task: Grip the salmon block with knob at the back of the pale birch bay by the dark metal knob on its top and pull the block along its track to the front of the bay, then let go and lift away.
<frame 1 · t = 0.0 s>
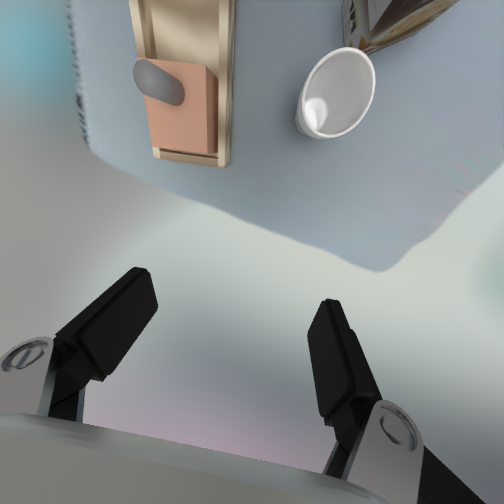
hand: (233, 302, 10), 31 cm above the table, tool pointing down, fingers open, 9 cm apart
bay: (193, 70, 28), on the table
salmon block with knob: (175, 110, 25), point 7 cm above the table, slide at 13.5 cm
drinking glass: (311, 116, 30), on the table
coffee box: (379, 19, 24), on the table
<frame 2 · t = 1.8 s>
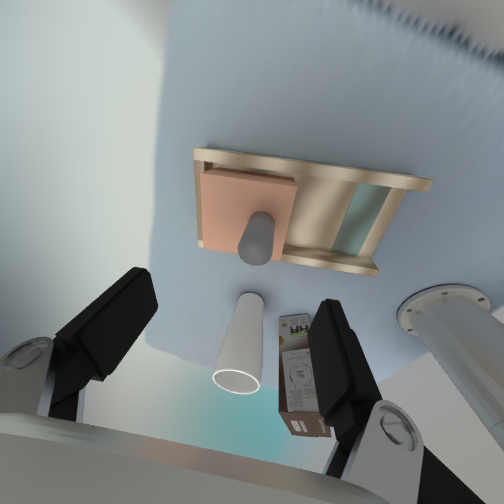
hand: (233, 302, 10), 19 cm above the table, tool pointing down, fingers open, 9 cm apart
bay: (292, 210, 26), on the table
salmon block with knob: (244, 221, 20), point 7 cm above the table, slide at 13.5 cm
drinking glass: (251, 300, 37), on the table
coffee box: (297, 327, 39), on the table
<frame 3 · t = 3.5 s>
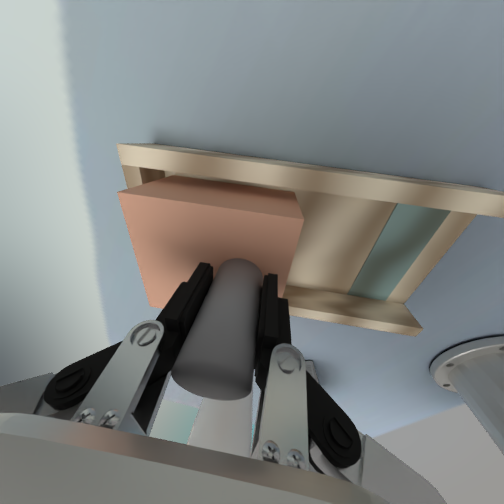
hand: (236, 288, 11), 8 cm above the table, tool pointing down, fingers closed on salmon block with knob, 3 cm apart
bay: (292, 237, 17), on the table
salmon block with knob: (210, 272, 12), point 7 cm above the table, slide at 13.5 cm, touching gripper
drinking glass: (239, 343, 28), on the table
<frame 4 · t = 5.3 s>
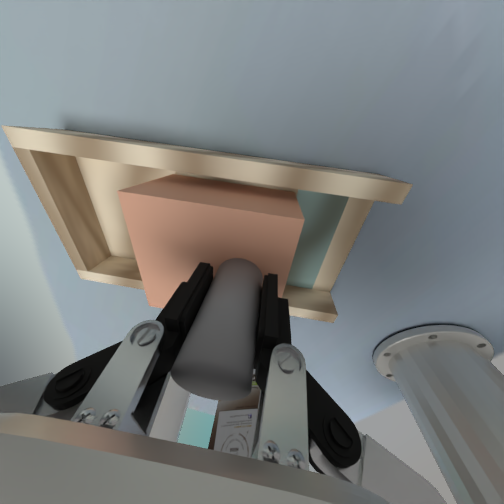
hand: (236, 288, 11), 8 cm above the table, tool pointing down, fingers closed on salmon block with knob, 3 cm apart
bay: (215, 225, 18), on the table
salmon block with knob: (209, 272, 12), point 7 cm above the table, slide at 5.8 cm, touching gripper
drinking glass: (190, 334, 29), on the table
coffee box: (253, 365, 32), on the table
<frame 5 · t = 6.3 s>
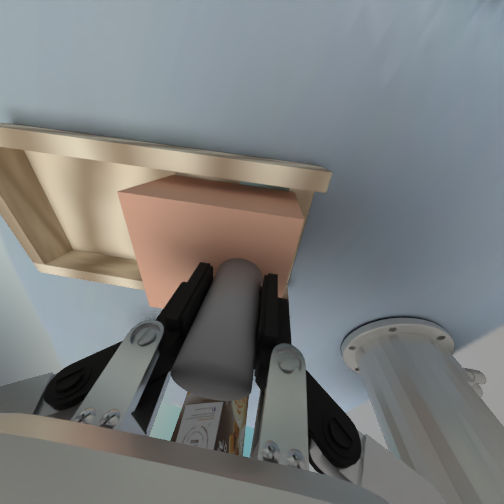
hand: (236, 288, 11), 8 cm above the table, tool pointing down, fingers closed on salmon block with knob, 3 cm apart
bay: (170, 218, 18), on the table
salmon block with knob: (209, 272, 12), point 7 cm above the table, slide at 1.1 cm, touching gripper
coffee box: (228, 360, 32), on the table
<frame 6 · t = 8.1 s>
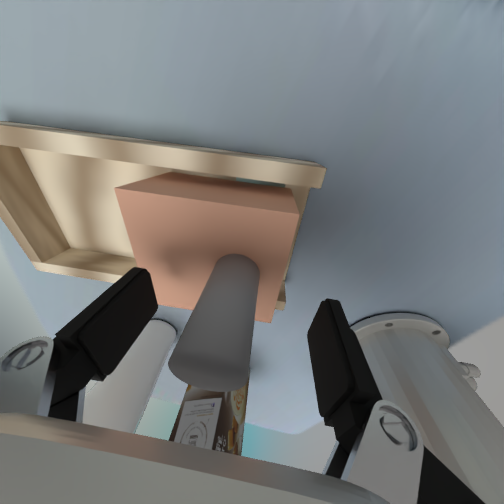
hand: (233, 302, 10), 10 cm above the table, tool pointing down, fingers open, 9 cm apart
bay: (167, 215, 18), on the table
salmon block with knob: (207, 268, 12), point 7 cm above the table, slide at 1.0 cm
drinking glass: (162, 327, 29), on the table
coffee box: (227, 357, 32), on the table
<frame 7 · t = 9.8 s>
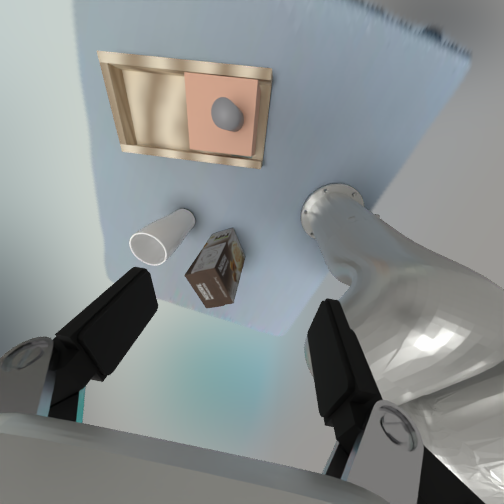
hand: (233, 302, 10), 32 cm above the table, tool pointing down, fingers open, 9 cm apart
bay: (196, 118, 32), on the table
salmon block with knob: (220, 117, 26), point 7 cm above the table, slide at 1.0 cm
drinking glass: (185, 218, 43), on the table
coffee box: (229, 245, 46), on the table
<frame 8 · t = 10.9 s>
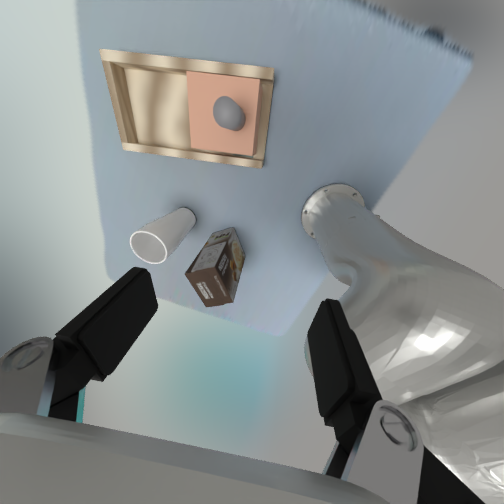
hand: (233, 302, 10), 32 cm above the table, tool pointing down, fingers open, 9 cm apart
bay: (197, 117, 32), on the table
salmon block with knob: (222, 116, 26), point 7 cm above the table, slide at 1.0 cm
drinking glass: (186, 217, 43), on the table
coffee box: (229, 245, 46), on the table
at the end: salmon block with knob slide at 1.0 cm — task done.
